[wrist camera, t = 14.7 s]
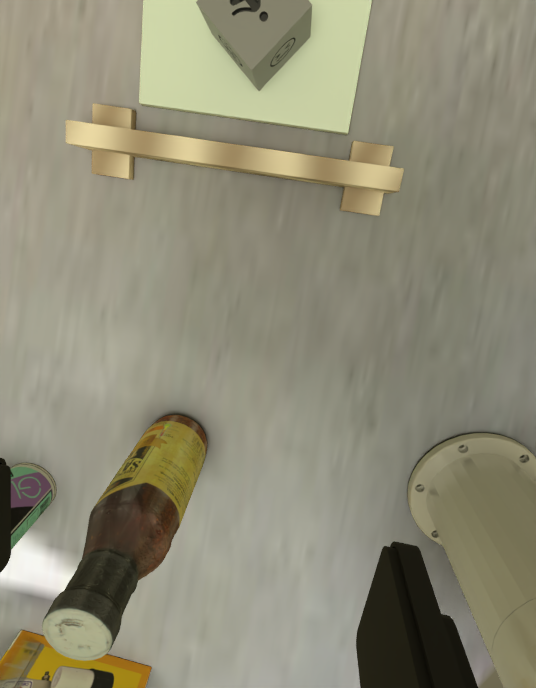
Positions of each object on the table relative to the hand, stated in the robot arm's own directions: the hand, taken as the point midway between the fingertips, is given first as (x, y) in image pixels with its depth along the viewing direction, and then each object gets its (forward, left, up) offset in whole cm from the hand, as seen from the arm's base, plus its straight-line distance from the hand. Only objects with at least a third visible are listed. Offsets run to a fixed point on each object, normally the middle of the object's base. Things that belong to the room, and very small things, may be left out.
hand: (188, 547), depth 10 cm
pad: (+4, -20, -28) cm, 35 cm away
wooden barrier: (+4, -11, -28) cm, 30 cm away
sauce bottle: (+7, +15, -28) cm, 33 cm away
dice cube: (+3, -20, -28) cm, 34 cm away
